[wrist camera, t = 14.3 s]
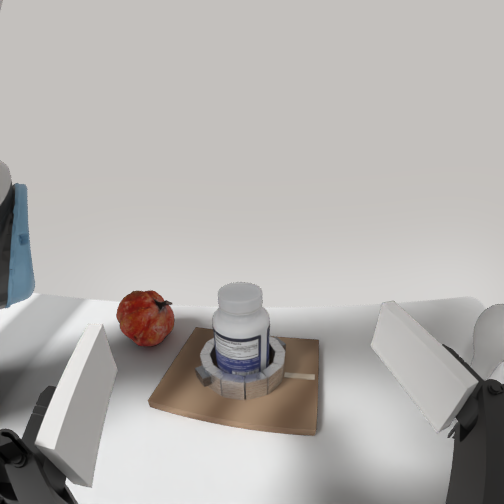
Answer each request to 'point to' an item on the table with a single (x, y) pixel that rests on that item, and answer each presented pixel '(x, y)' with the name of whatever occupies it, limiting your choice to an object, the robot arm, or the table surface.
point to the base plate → (245, 411)
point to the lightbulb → (488, 341)
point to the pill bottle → (241, 330)
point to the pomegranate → (145, 317)
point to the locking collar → (240, 384)
